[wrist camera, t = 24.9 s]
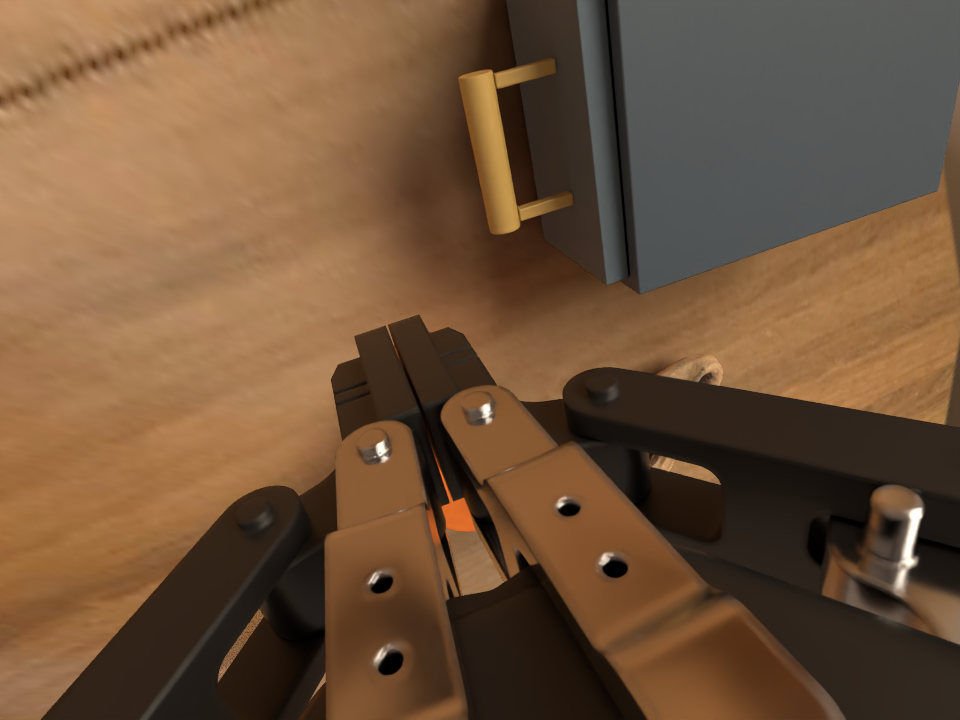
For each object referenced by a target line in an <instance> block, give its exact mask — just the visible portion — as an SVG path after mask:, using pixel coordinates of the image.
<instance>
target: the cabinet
mask: <svg viewBox="0 0 960 720" xmlns="http://www.w3.org/2000/svg"><path fill="white" fill-rule="evenodd" d="M608 11H609V23H610V35H611V47H612V59H613V71H614V83H615V95H616V107H617V119H618V131H619V143H620V155H621V168H622V180H623V192H624V204H625V216H626V228H627V240H628V242H626V241H625V244H626V256H627V268H628V278H626V279H623V280H620V281H621V282H622V283H623V284H625V285H626V286H628V287H629V288H632V290H634V291H635V292H636V293H638V294H643V293H646V292H649V291H651V290H654V289H657V288H660V287H663V286H666V285H669V284H671V283H674V282H677V281H680V280H683V279H686V278H689V277H692V276H694V275H697V274H700V273H703V272H706V271H709V270H712V269H715V268H717V267H720V266H723V265H726V264H729V263H732V262H735V261H737V260H740V259H743V258H746V257H749V256H752V255H755V254H758V253H760V252H763V251H766V250H769V249H772V248H775V247H778V246H781V245H783V244H786V243H789V242H792V241H795V240H798V239H801V238H804V237H806V236H809V235H812V234H815V233H818V232H821V231H824V230H826V229H829V228H832V227H835V226H838V225H841V224H844V223H847V222H849V221H852V220H855V219H858V218H861V217H864V216H867V215H870V214H872V213H875V212H878V211H881V210H884V209H887V208H890V207H892V206H895V205H898V204H901V203H904V202H907V201H910V200H913V199H915V198H918V197H921V196H924V195H927V194H930V193H933V192H936V191H938V189H939V184H940V178H941V173H942V168H943V163H944V158H945V153H946V148H947V143H948V138H949V133H950V128H951V123H952V118H953V113H954V108H955V102H956V97H957V92H958V87H959V82H960V0H608Z"/></svg>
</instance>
